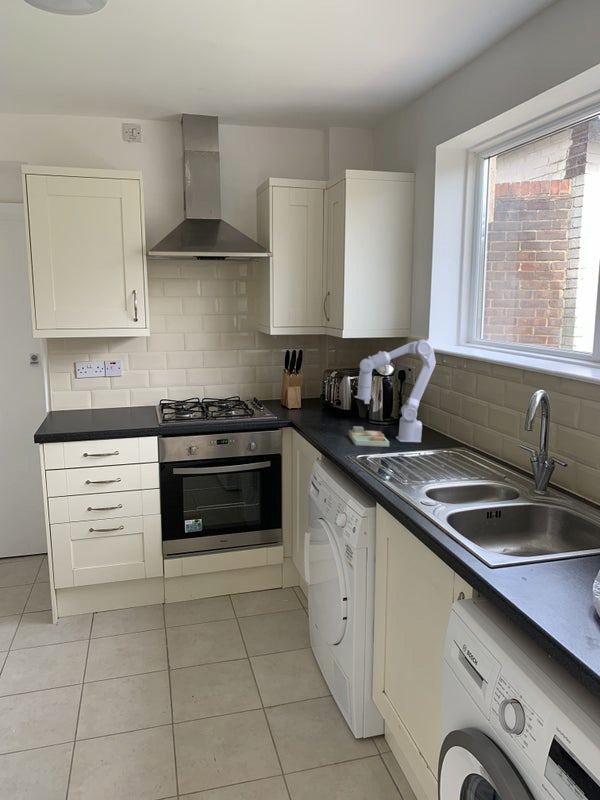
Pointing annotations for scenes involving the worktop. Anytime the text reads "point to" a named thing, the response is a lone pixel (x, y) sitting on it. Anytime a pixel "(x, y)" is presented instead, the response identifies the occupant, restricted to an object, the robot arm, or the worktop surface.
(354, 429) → the grey tile
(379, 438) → the terracotta tile
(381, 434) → the board
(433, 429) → the worktop surface
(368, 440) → the tray
